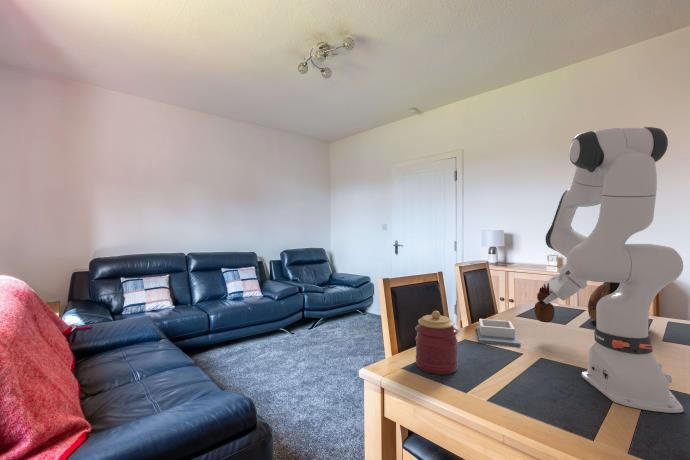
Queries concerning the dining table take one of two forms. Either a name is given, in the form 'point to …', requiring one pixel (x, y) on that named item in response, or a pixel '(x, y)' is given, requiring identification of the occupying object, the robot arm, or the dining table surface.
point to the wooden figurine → (544, 306)
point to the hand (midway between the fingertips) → (542, 300)
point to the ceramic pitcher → (600, 296)
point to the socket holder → (497, 332)
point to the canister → (436, 344)
